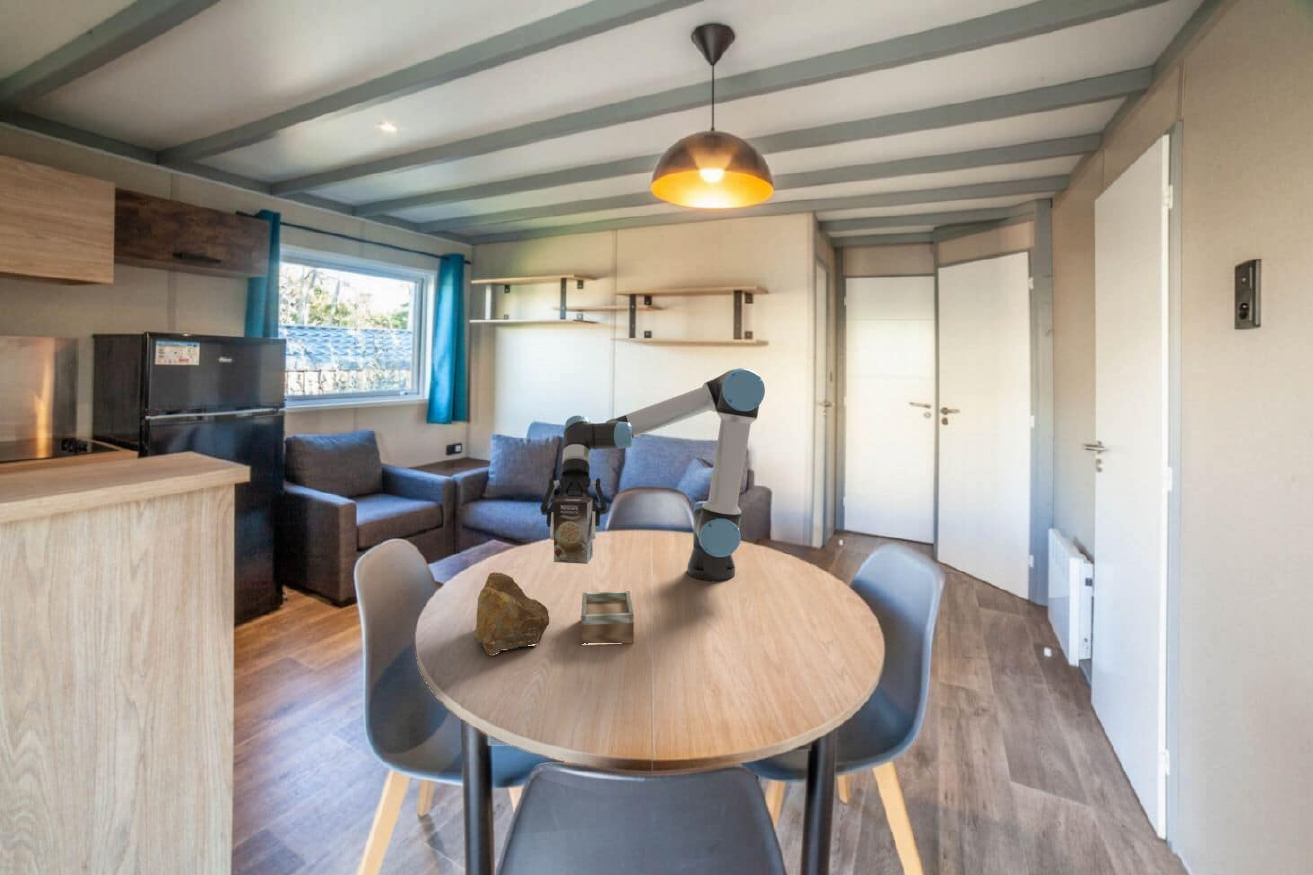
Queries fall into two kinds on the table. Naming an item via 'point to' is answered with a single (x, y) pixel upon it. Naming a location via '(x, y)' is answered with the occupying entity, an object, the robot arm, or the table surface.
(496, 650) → the rough brown rock
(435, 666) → the table surface
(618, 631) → the open wooden box
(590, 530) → the coffee box
